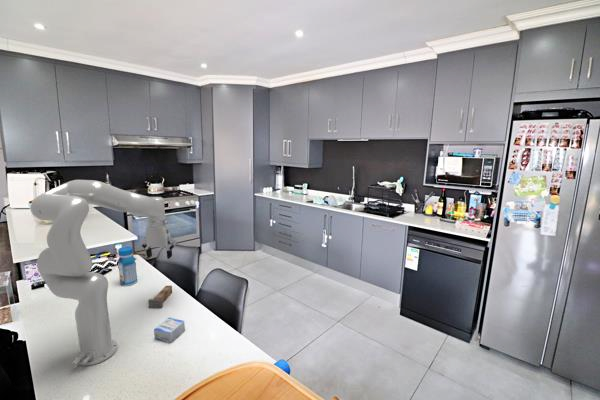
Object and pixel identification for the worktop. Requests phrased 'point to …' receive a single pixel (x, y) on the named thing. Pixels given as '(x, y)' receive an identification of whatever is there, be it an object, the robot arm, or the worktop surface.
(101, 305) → the robot arm
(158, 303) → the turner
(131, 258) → the beverage bottle
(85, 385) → the worktop surface
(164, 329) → the medicine box
